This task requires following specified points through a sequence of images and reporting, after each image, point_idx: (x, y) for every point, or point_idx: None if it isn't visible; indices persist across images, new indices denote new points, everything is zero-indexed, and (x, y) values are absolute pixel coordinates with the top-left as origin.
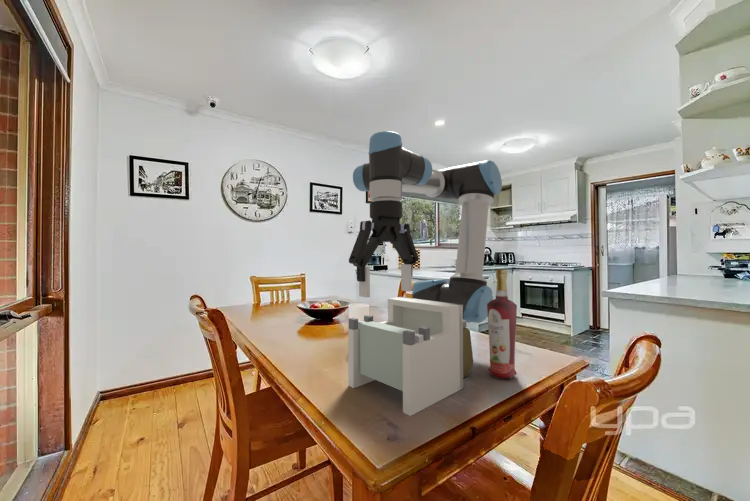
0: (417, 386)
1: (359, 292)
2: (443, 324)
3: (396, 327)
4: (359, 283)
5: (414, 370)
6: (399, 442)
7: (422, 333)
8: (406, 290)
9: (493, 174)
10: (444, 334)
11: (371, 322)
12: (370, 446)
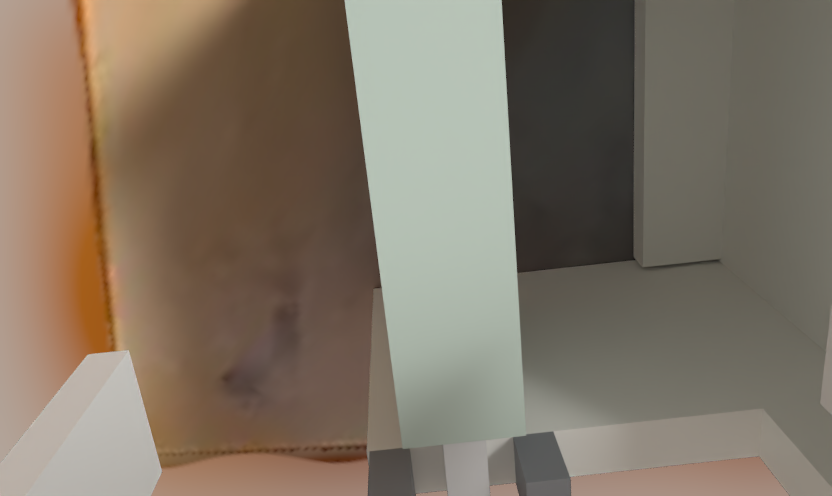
0: None
1: (70, 385)
2: (789, 448)
3: (497, 292)
4: (15, 457)
5: None
6: (245, 409)
7: (521, 488)
8: (830, 362)
9: None
10: (717, 452)
11: (456, 17)
12: (156, 378)
